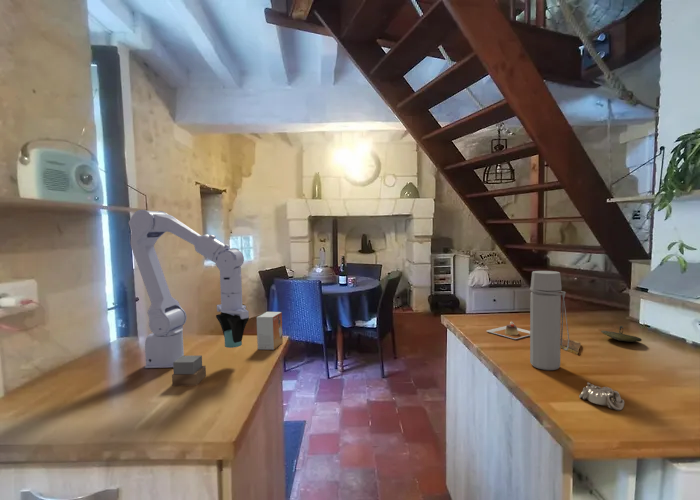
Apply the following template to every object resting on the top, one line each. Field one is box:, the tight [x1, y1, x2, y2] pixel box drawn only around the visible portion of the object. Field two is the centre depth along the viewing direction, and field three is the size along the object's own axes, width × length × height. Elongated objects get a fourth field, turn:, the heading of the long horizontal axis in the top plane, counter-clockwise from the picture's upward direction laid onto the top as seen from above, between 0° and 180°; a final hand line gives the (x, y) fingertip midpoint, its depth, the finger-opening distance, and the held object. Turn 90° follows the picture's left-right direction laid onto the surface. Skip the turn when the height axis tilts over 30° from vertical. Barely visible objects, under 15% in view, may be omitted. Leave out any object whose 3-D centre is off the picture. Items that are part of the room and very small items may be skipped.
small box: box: [256, 311, 284, 351], centre depth 124 cm, size 8×6×10 cm
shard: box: [560, 338, 582, 355], centre depth 115 cm, size 11×8×2 cm
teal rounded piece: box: [223, 329, 243, 349], centre depth 108 cm, size 5×5×4 cm
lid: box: [600, 325, 642, 343], centre depth 119 cm, size 11×10×5 cm
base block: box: [171, 365, 207, 387], centre depth 97 cm, size 6×6×3 cm
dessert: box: [486, 320, 530, 340], centre depth 132 cm, size 12×12×5 cm
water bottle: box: [529, 270, 570, 371], centre depth 100 cm, size 9×8×25 cm
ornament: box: [578, 382, 625, 412], centre depth 80 cm, size 8×7×4 cm
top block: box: [172, 355, 203, 374], centre depth 96 cm, size 5×5×3 cm
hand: (233, 340), depth 108 cm, fingers closed on teal rounded piece, 5 cm apart
